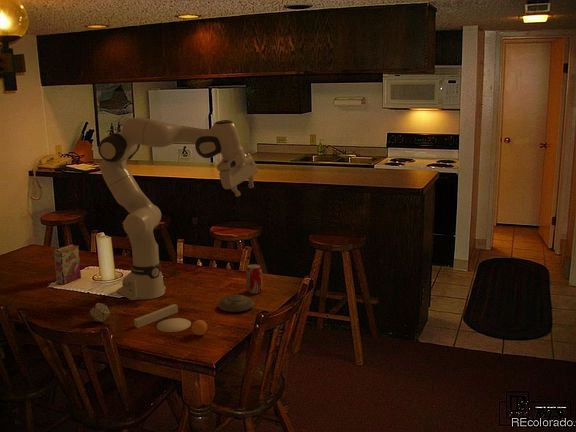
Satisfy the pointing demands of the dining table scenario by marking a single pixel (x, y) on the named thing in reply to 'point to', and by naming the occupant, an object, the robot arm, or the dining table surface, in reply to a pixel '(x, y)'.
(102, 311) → the game die
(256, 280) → the soda can
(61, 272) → the candy bar box
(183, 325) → the disc
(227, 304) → the flying saucer
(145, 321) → the bar
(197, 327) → the ball
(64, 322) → the dining table surface
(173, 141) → the robot arm
